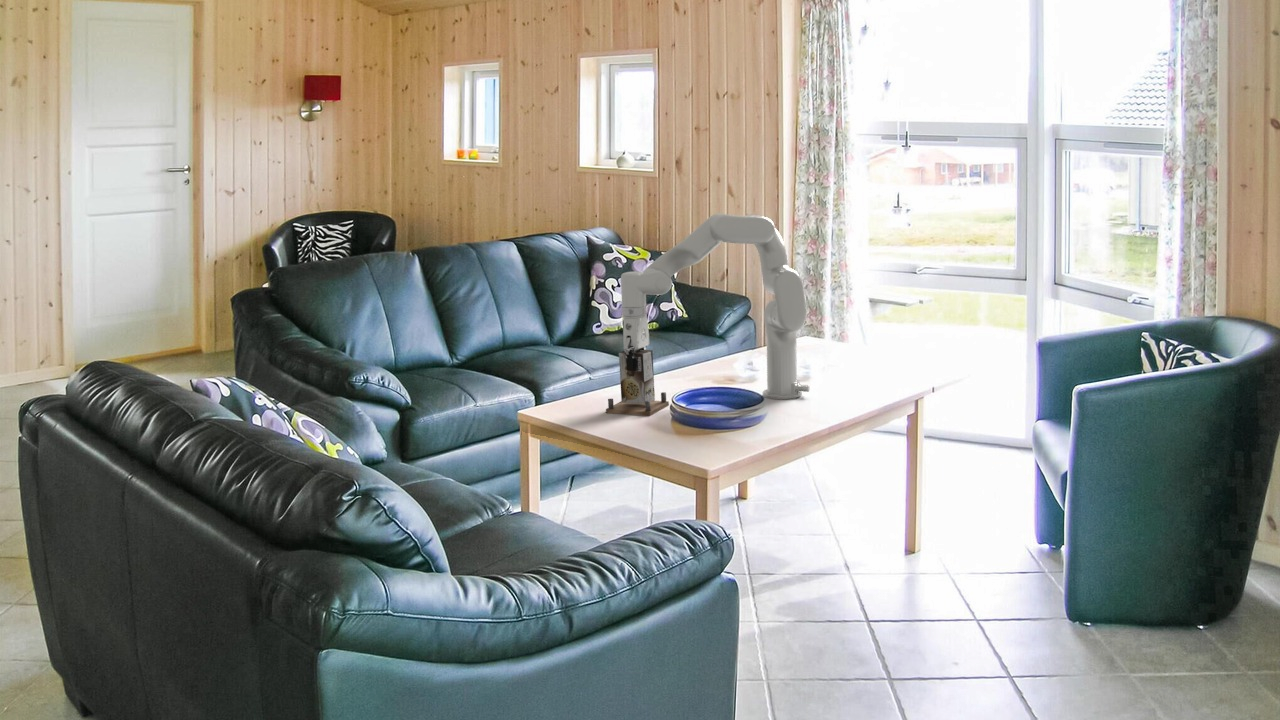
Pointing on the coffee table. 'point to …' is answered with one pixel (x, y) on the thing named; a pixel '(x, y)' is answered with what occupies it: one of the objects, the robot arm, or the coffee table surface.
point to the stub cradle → (638, 407)
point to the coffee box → (637, 378)
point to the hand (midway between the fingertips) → (636, 367)
